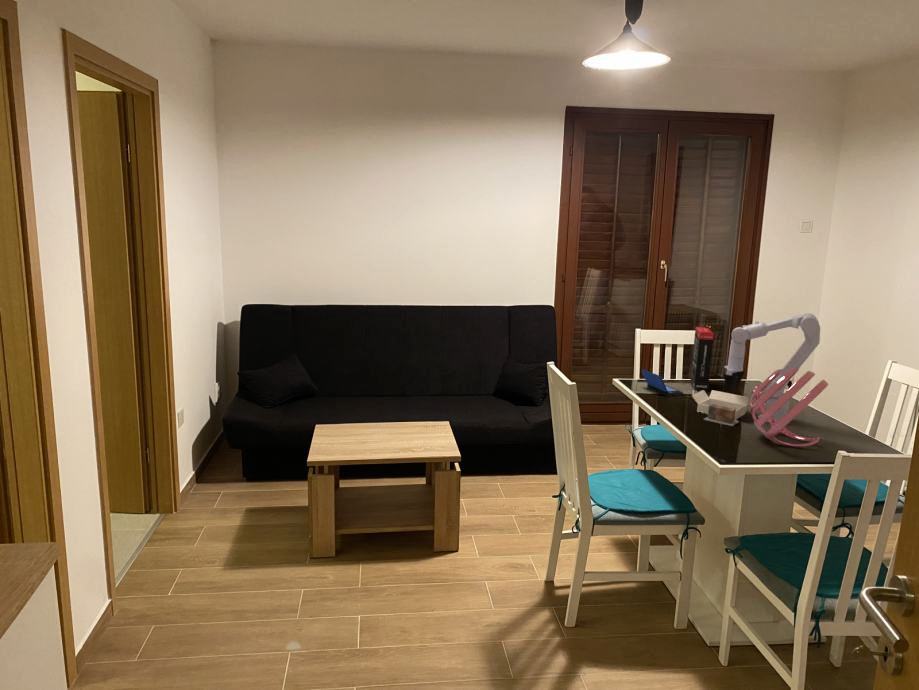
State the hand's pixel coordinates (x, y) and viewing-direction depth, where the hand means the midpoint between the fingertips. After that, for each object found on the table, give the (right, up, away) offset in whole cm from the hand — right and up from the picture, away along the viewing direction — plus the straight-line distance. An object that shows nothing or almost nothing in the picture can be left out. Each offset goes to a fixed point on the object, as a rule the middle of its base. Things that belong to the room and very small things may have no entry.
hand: (732, 389), depth 278 cm
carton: (-4, -9, +1) cm, 10 cm away
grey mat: (-9, -11, -12) cm, 19 cm away
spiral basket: (+5, -16, -32) cm, 36 cm away
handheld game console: (-20, -3, +31) cm, 37 cm away
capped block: (-9, -11, -12) cm, 18 cm away
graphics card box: (+1, -2, +43) cm, 43 cm away
